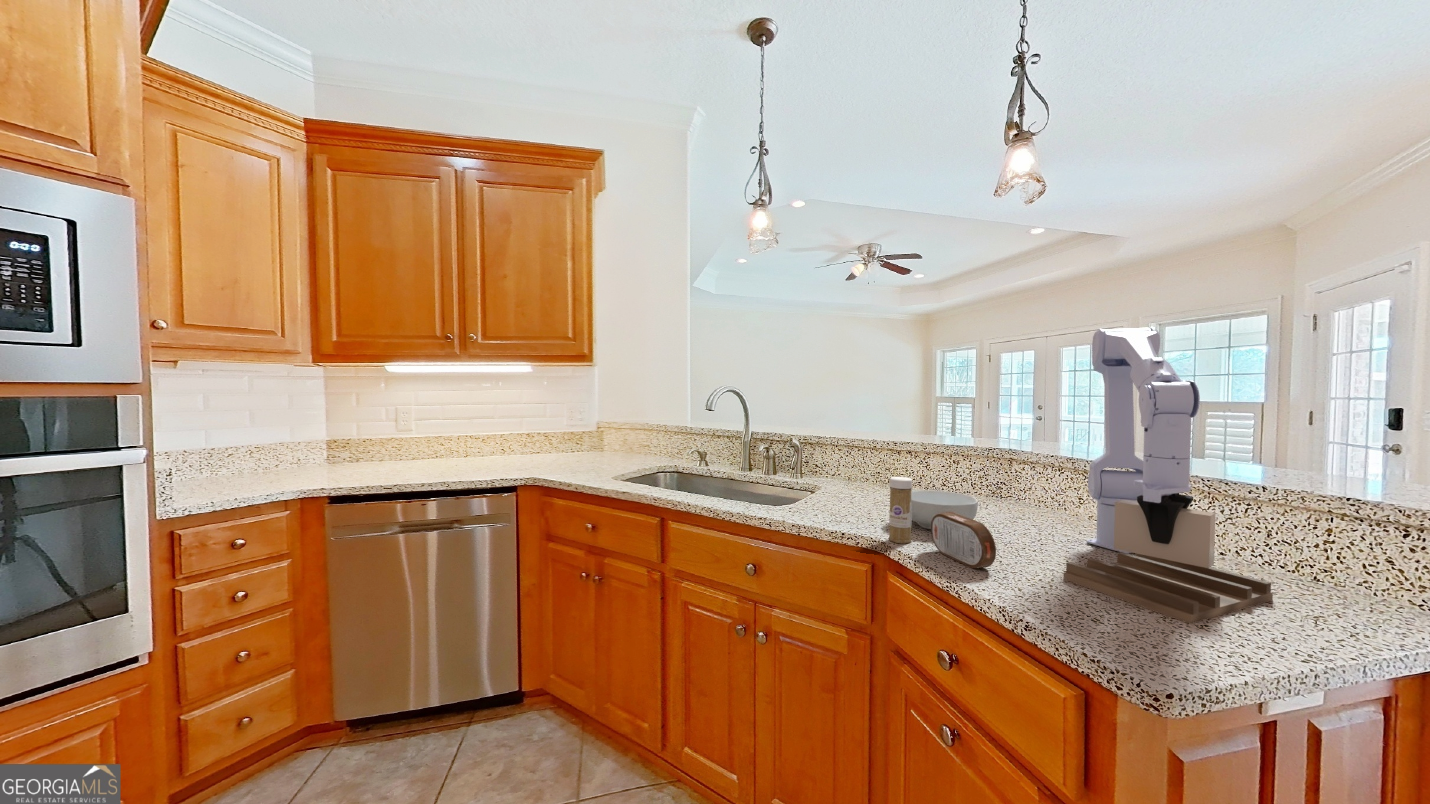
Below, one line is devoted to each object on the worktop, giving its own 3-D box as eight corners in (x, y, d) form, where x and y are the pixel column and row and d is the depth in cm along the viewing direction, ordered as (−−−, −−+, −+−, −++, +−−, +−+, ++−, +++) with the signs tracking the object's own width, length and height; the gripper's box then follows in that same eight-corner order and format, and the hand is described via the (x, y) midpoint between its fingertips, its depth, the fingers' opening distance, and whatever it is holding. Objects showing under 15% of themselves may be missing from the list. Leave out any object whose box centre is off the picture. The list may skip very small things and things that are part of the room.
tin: (997, 573, 94) (998, 526, 93) (982, 575, 93) (982, 527, 92) (941, 548, 108) (941, 506, 108) (927, 549, 107) (928, 507, 107)
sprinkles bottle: (888, 542, 111) (888, 479, 111) (889, 536, 116) (890, 475, 115) (911, 545, 110) (912, 480, 109) (912, 539, 114) (912, 476, 113)
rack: (1141, 563, 98) (1142, 548, 98) (1272, 600, 82) (1273, 582, 81) (1063, 579, 91) (1063, 563, 90) (1190, 623, 74) (1190, 603, 74)
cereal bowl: (994, 534, 117) (994, 502, 117) (924, 538, 115) (924, 506, 114) (948, 515, 134) (949, 487, 134) (886, 518, 131) (887, 490, 131)
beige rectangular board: (1120, 545, 92) (1121, 499, 91) (1213, 564, 82) (1215, 512, 82) (1113, 548, 90) (1114, 501, 90) (1209, 568, 80) (1210, 515, 80)
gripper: (1149, 450, 93) (1147, 527, 93) (1120, 457, 84) (1118, 542, 85) (1203, 454, 87) (1200, 536, 88) (1178, 463, 78) (1175, 554, 79)
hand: (1163, 540), depth 86 cm, fingers closed on beige rectangular board, 3 cm apart
